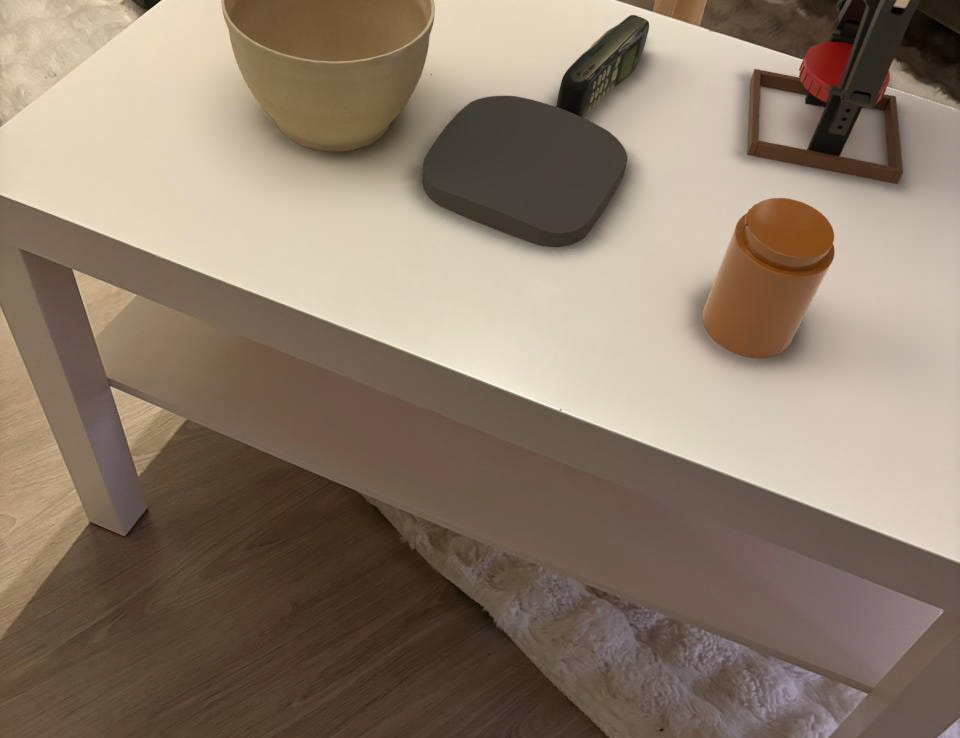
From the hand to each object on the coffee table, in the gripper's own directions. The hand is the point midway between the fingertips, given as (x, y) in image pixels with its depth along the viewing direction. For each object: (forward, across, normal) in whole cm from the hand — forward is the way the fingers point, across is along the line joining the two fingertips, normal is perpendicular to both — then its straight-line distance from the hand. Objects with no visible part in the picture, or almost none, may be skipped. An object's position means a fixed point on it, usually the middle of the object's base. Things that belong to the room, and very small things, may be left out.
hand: (820, 130), depth 92 cm
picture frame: (+1, 0, 0) cm, 1 cm away
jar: (+1, +26, -6) cm, 27 cm away
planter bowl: (+1, +11, -42) cm, 43 cm away
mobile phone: (+1, -1, -20) cm, 20 cm away
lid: (-6, 0, 0) cm, 6 cm away
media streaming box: (+1, +14, -25) cm, 29 cm away
